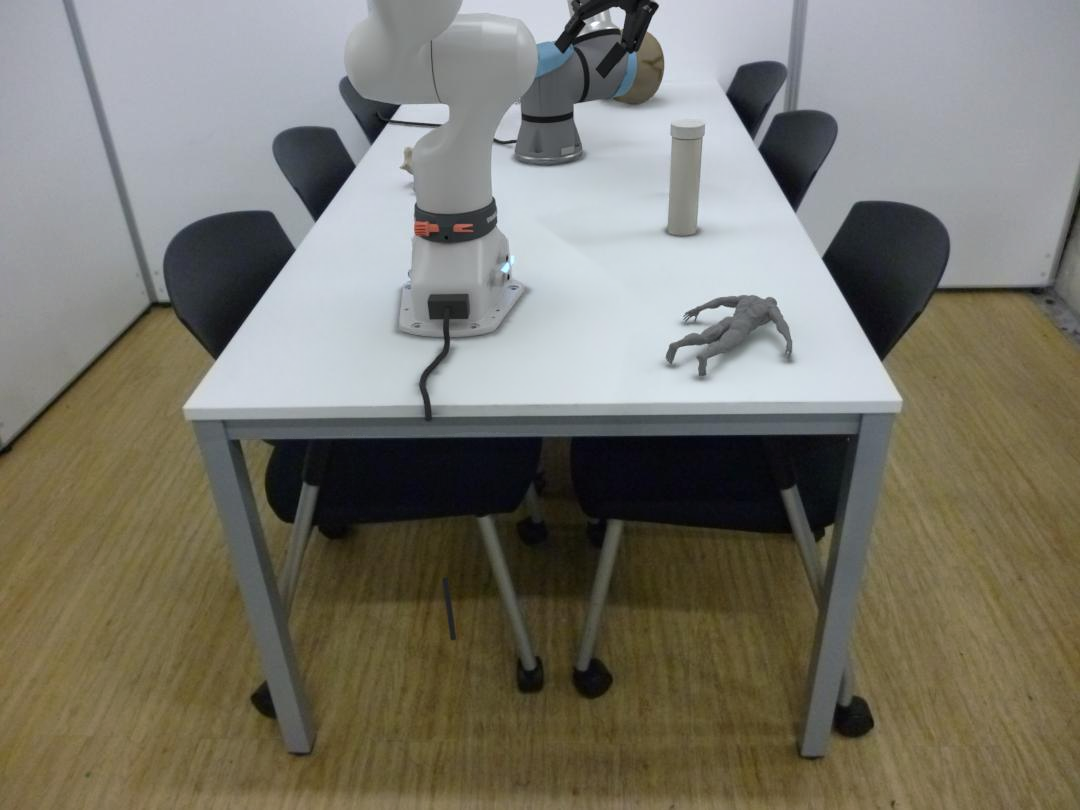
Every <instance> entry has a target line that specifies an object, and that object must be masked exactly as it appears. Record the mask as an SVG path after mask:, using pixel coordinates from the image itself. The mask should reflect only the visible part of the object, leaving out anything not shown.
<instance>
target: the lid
mask: <svg viewBox="0 0 1080 810" xmlns="http://www.w3.org/2000/svg"><path fill="white" fill-rule="evenodd" d="M669 130H670V132H669V133H670V134H669V135H670V137H671V138H672V137H674V138H678V139H697V138H701V137H703V138H704V137H705V134H706V122H705V120H702V119H698V118H679V119H678V118H677V119H674V120H672V121H670V129H669Z"/></svg>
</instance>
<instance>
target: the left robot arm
mask: <svg viewBox="0 0 1080 810" xmlns="http://www.w3.org/2000/svg"><path fill="white" fill-rule="evenodd" d="M368 1H369V2H368V3H369V5H370V8H371V10H370V13H369V14H368V15H367V16H366V17H365V18H364V19H362V20H361V21H360V22H358V23H356V24H355V25H354V26H353V28H352V29H351V30H350V32H349V34H348V36H347V39H346V41H345V45H344V50H343V62H344V69H345V72H346V76H347V78H348V81H349V82H350V84H351V85H352V87H353V88H354V90H355V91H356V93H358V94H359V96H360V97H362V98H363V99H366V100H371V101H376V102H381V103H387V104H390V105H391V104H392V105H397V106H398V105H399V106H400V105H446V106H448V110H449V115H448V116H449V117H448V120H447V121H446V122H445V123H443V125H441V126H439V127H434V128H433V129H432V130H430V131H429V132H427V133H426V134H424V135H423V136H421V137H420V138H419V139H418V141H416V143H415V144H414V146H413V151H412V157H411V161H412V169H413V175H412V176H413V184H414V186H415V192H414V194H415V201H416V202H415V203H414V209H413V210H414V211H413V222H414V223H413V232H414V235H413V236H412V237H411V246H412V247H411V248H412V250H411V262H410V263H411V266H410V269H408V271H407V277H408V278H409V279H410V280H408V281H405V282H404V283H403V284H402V292H401V299H400V308H399V309H400V310H399V318H398V329H399V331H401V332H403V333H406V334H410V335H415V336H421V337H422V336H423V337H434V338H435V337H437V338H443V347H442V350H441V351H440V353H439V354H437V356H436V357H435V358H434V359H433V361H432V362H430V364H429V365H428V366H427V367H426V368H425V369H424V370H423V371H422V374H421V376H420V379H419V382H418V383H419V384H418V386H419V392H420V394H421V397H422V400H423V408H424V420H425V422H431V421H432V420H433V415H432V404H431V399H430V394H429V391H428V389H427V380H428V377H429V376H430V374H432V372H433V371H434V370H435V369H436V368H437V367H438V366H439V364H440V363H441V362H442V361H443V360H444V359H445V358H446V357H447V356H448V353H449V351H450V346H451V338H458V337H459V338H460V337H473V336H479V335H484V334H489V333H492V332H494V331H496V330H497V328H498V327H499V326H500V324H502V322H503V320H504V319H505V318H506V316H507V315H508V314H509V312H510V311H511V309H512V308H513V307H514V306H515V304H516V303H517V301H518V300H519V298H520V297H522V295H523V293H524V292H525V287H524V283H523V282H522V281H519V280H517V279H514V277H513V268H512V265H513V264H514V262H515V256H514V255H511V249H510V241H509V238H508V237H507V236H506V235H505V234H504V233H503V232H502V231H501V230H500V228H499V227H498V225H497V224H498V206H497V201H496V198H495V196H493V185H492V183H493V182H492V152H493V144H494V141H493V140H494V138H495V136H496V133H497V129H498V127H499V125H500V123H501V122H502V119H503V118H504V116H505V115H506V113H507V112H508V111H509V110H510V109H511V107H512V106H513V105H514V104H515V103H516V102H518V100H520V97H522V96H523V95H524V94H525V93H526V92H527V90H528V89H529V88H530V86H531V85H532V83H533V81H534V79H535V76H536V73H537V68H538V50H537V46H536V44H537V42H536V40H535V37H534V35H533V33H532V31H531V30H530V28H529V27H528V26H527V24H526V23H525V22H524V21H523V20H522V19H520V18H515V17H511V16H505V15H500V14H495V13H490V12H482V13H481V12H477V13H476V12H475V13H473V12H472V13H459V12H460V10H461V7H462V5H463V1H464V0H368ZM414 186H413V187H414ZM441 581H442V588H443V596H444V602H445V611H446V616H447V625H448V631H449V638H450V640H451V641H455V640H457V633H456V627H455V619H454V610H453V606H452V605H453V603H452V596H451V591H450V590H451V589H450V583H449V576H446V577H443V578H441Z"/></svg>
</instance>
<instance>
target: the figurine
mask: <svg viewBox="0 0 1080 810" xmlns="http://www.w3.org/2000/svg"><path fill="white" fill-rule="evenodd" d="M721 306H723V307H725V308H729V309H734V313H733V314H732V316H730V315H729V316H725V317H724V318H722V319H721V320H720V321H718V322H717V323H716V324H713V325H710V326H708V327H707V328H705V329H704V330H703V331H702V332H701V333H697V332H691V333H688V334H686V335H685V336H684V337H682V338H681V339H679V340H677V341H675V342H670V344H669V345H668V350H667V351H666V354H665V361H666V362H668V363H669V364H670V365H673V362H674V360H675V356H676V354H677V352H678V350H679V349H680V348H683V347H691V346H693V347H694V346H699V347H701V346H703V345H708V349H706V351H704V352H701V353H698V354H697V355H696V359H697V361H698V367H697V373H698V377H704V376H706V375H707V366H708V359H710V358H713V357H715V356H718V355H721V354H725V353H726V352H729V351H731V350H732V349H734V348H735V347H738V346H739V345H741V343H742V342H743V341H744V340H745V339H746V338H747V336H748V335H749V334H750V333H751V332H753V331H755V330H756V329H757V328H758V327H762V326H765V325H767V324H769V323H773V324H775V328H776V331H777V332H778V334H781V336H783V338H784V340H785V341H786V345H785V348H786V349H785V351H784V356H787V358H786V359H787V361H789V360H790V358H791V355H792V353H793V339H792V336H791V331H790V327H789V324H788V323H787V321H786V320H785V319H784V316H783V314H782V312H781V310H780V308H779V306H778V301H777V300H776V299H775V297H773V296H767V297H765V298H762V297H760V296H758V295H755V294H751V295H747V294H739V295H738V296H736V295H729V296H720V297H716V298H714V299H712V300H710V301H708V302H705V303H703V304H701V305H699V306H696V307H694V308H691V309H690V310H688V311H686V312H684V315H683V316H682V317H683V319H682V320H683V321H684V322H685V323H686V322H688V321H689V320H690V319H691V318H692V317H694V320H693V322H694V323H696V322H697V318H698V316H699V315H700V313H701V312H702V311H705V310H708V309H711V310H714V309H718V308H720V307H721Z"/></svg>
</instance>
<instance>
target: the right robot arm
mask: <svg viewBox="0 0 1080 810" xmlns="http://www.w3.org/2000/svg"><path fill="white" fill-rule="evenodd" d="M566 1H567V6H568V11H569V12H568V13H569V16H570V18H569V20H568V21H567V22H566V24H565V26H564V28H563V29H564V30H563V31H562V32H561V33H560V35H559V36H558V38H556V40H552V41H550V40H549V41H543V42H539V43H536V46H537V50H538V68H537V73H536V76H535V79H534V81H533V83H532V85H531V86H530V88H529V89H528V90H527V92H526V93H525V94H524V95H523V96H522V97H520V98H519V100H520V101H519V102H520V116H521V117H520V120H521V121H520V125H519V130H518V134H517V138H516V139H511V140H500V139H497V138H495V137H494V140H493V143H496V144H499V145H512V144H515V146H514V158H515V160H517V161H519V162H520V163H524V164H527V165H535V166H554V165H562V164H567V163H571V162H575V161H577V160H579V159H580V158H582V157H583V154H584V153H583V144H582V140H581V138H580V133H579V131H578V128H577V125H576V122H575V111H574V109H575V106H574V105H576V104H582V103H583V104H584V103H589V102H594V101H600V100H611V99H612V98H613V97H617V96H621V95H624V94H625V93H627V92H628V91H629V89H630V88H631V86H632V84H633V82H634V79H635V76H636V71H637V56H636V52H637V51H639V49H640V46H641V44H642V41H643V39H644V36H645V34H646V32H648V29H649V27H650V24H651V22H652V19H653V17H654V15H655V14H656V12H657V11H658V10H659V7H660V5H659V3H658V2H657V1H656V0H566ZM612 8H619V9H621V10H622V11H624V13H625V17H624V22H623V28H622V29H623V32H622V37H621V31H620V30H621V27H619V26H617V25H616V24H615V23H613V21H612V17H611V12H610V11H611V10H610V9H612ZM635 41H636V43H635ZM375 116H378V118H379V119H380V121H382V122H385V123H389V124H399V125H407V126H410V125H411V126H421V127H423V126H424V127H434V128H437V127H439V126H441V125H443V124H444V123H443V124H442V123H431V122H430V123H429V122H418V121H404V120H397V119H396V120H395V119H389V118H384V116H382V114H381V111H380V110H376V112H375Z"/></svg>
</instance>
